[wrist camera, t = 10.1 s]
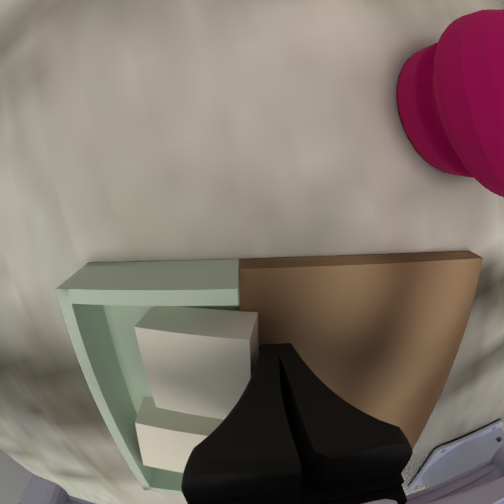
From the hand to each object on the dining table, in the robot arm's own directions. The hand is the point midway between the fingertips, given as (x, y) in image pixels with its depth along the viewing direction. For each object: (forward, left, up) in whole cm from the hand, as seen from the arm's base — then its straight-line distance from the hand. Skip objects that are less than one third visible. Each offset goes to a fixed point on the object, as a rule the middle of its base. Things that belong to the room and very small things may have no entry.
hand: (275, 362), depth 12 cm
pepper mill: (-9, -11, -2) cm, 14 cm away
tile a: (+5, +6, -1) cm, 8 cm away
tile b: (+3, 0, -1) cm, 3 cm away
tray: (+5, +4, -2) cm, 6 cm away
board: (-5, +4, -2) cm, 6 cm away
